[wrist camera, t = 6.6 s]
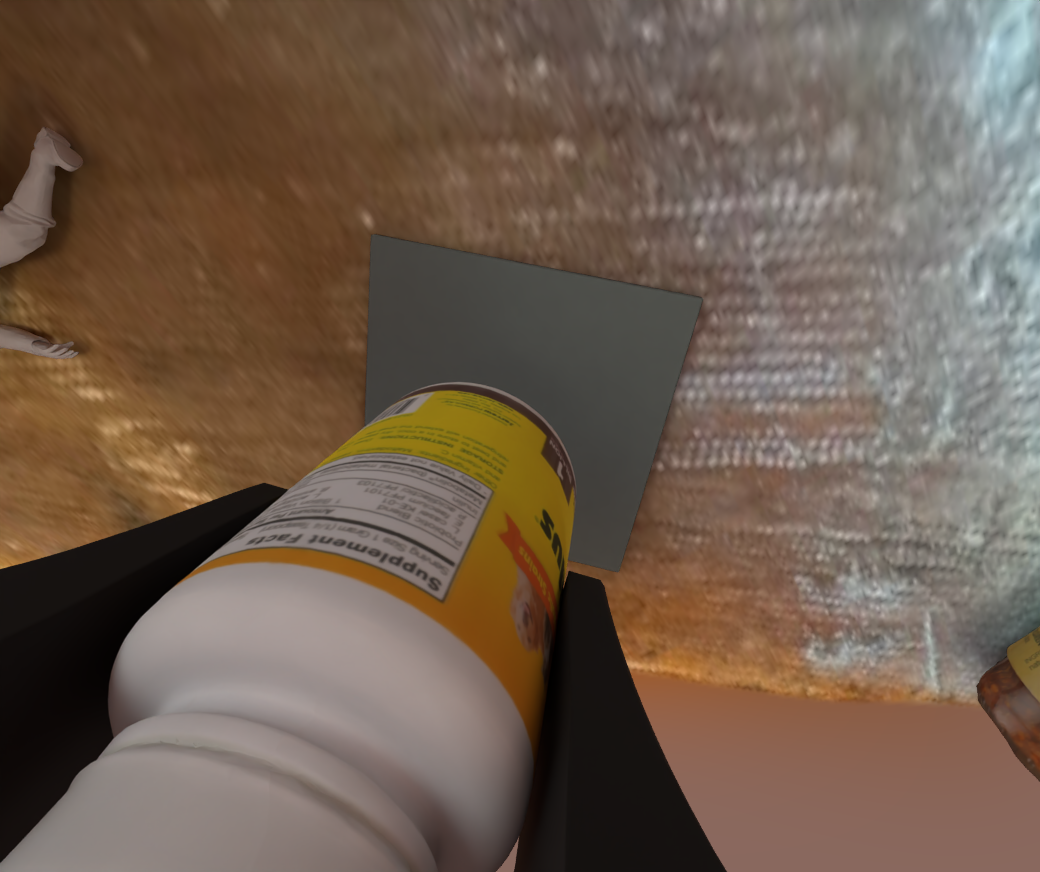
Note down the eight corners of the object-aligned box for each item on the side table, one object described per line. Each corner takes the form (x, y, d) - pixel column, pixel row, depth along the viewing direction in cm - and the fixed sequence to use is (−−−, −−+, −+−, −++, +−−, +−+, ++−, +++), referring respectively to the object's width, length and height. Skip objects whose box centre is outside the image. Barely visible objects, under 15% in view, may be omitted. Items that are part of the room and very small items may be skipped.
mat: (365, 505, 20) (361, 509, 20) (374, 234, 16) (370, 234, 16) (618, 567, 19) (618, 572, 19) (702, 297, 15) (703, 298, 15)
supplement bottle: (547, 586, 15) (416, 1231, 5) (363, 526, 15) (-52, 1035, 6) (610, 411, 12) (566, 1039, 3) (389, 343, 13) (-259, 721, 3)
